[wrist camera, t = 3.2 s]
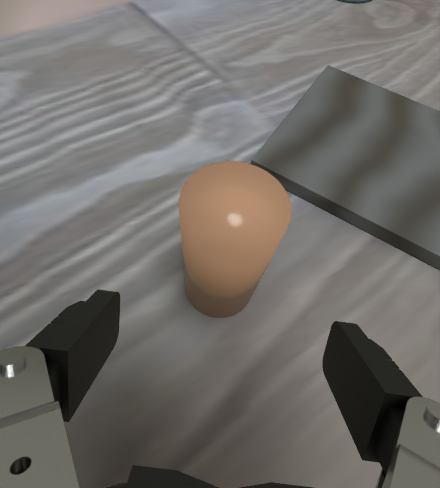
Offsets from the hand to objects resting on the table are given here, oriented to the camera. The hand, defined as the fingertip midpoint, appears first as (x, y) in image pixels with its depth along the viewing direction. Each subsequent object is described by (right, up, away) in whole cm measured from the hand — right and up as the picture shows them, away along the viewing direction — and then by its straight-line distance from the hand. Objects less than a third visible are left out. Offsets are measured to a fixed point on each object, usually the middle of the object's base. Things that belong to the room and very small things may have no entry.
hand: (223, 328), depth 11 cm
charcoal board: (+17, +13, +21) cm, 30 cm away
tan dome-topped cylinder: (0, 0, +13) cm, 13 cm away
